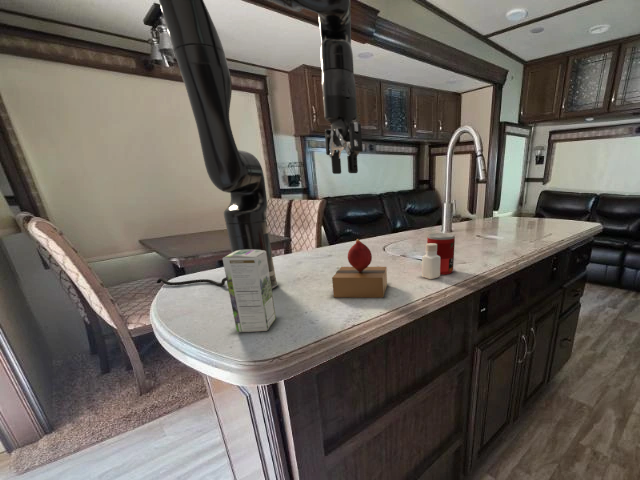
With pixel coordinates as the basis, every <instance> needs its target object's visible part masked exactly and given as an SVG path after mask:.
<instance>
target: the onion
mask: <svg viewBox="0 0 640 480" xmlns="http://www.w3.org/2000/svg"><path fill="white" fill-rule="evenodd" d="M372 258H373V255H372V251H371V250H370V249H369V247H368V246H367V245H366V244H364V243H363V242H362V241H361V240H360V239H359V238H357V239H356V240H355V243H354V244H353V245H351V247H350V248H349V250H348V252H347V261H348V263H349V265H350V267H354V268H355V269H356V270H357V271H359V272H361V271H363V270H364V269H365V268H367V267H370V265H371V263H372V260H373V259H372Z"/></svg>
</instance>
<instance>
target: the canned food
mask: <svg viewBox="0 0 640 480" xmlns="http://www.w3.org/2000/svg"><path fill="white" fill-rule="evenodd" d="M455 236H456V235H455V234H452V233H445V232H436V233H435V232H434V233H429V234H427V241H426V244H428V243H435V244H437V255H438V256H440V276H441V275H443V276H445V275H450V274H452V273H453V272H454V264H455V244H456V240H455V239H456V237H455Z"/></svg>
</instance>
